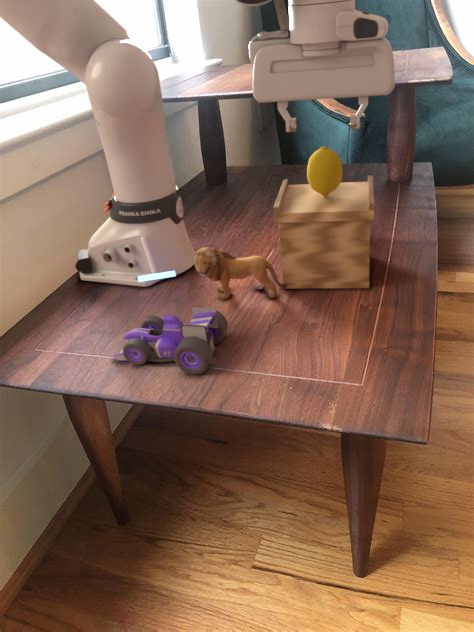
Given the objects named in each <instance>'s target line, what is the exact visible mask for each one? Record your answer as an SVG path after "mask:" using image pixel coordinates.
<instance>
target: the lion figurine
mask: <svg viewBox="0 0 474 632" xmlns="http://www.w3.org/2000/svg"><path fill="white" fill-rule="evenodd" d="M194 256H195V258H194V259H195V263H194V268H195V270H196V271H197V273H199V274H200V276H201V277H202V276H204V277H206V278H209V280H210V281H212V282H220V285H221V287H220V291H221V292H223V293H222V294H221V296H220V297H221V299H222V300H227V299H229V297H230V294H231V290H230V283H231V280H245V279H247V278H249V277H251V276H252V275H253V277H254V278H255V279H256V280H257V281H258V282H259V284H258V283H257V284H256V285H255V290H261V289H263V288H264V287H266V288H268V289H269V290H271V291H270V292H269V293H268V296H269V298H276V297H277V294H278V289H277V288H276V287H277V286H278V287H279V288H281V289H284V288H287V286H286V285H284V284H283V283H281V282H280V281H279V278H278V277H277V274H276V272H275V269H274V267H273V265H272V264H271V263H270V262H269V260H268V259H266V258H265V257H263V256H260V255H251V256H247V257H235V256H232V255H231V254H230V253H229V252H227V251H224V250H222V249H219V250H218V248H216V247H210V246H207V247H206V246H203V247H200V248H198V249H197V250H196V251H195V253H194ZM268 271H269V272H270V274H271V276H272V278H273V280H274V281H272V280H271V279H270V277H269V276H268ZM274 282H275V283H276V284H275V283H274ZM276 285H277V286H276ZM287 289H288V288H287Z"/></svg>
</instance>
